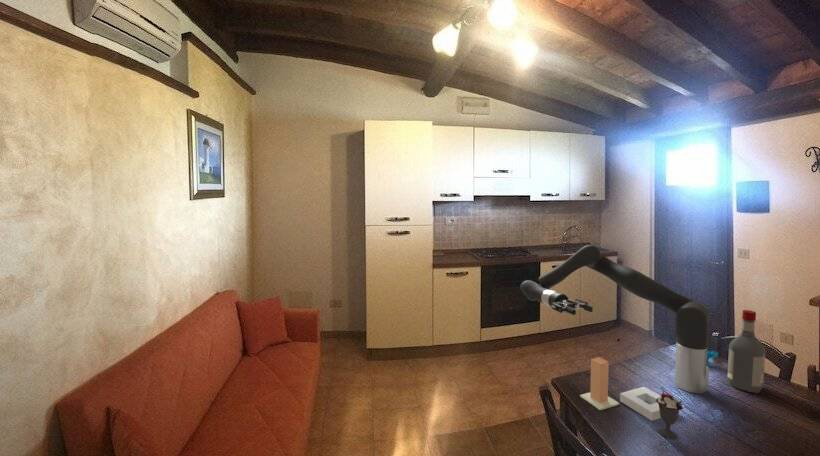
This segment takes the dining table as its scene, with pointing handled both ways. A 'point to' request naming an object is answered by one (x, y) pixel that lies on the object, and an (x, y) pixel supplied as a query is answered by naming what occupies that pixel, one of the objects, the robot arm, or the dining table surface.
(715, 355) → the gear
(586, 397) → the pad
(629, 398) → the socket block
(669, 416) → the sundae
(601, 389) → the peg
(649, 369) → the dining table surface
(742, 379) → the liquor
